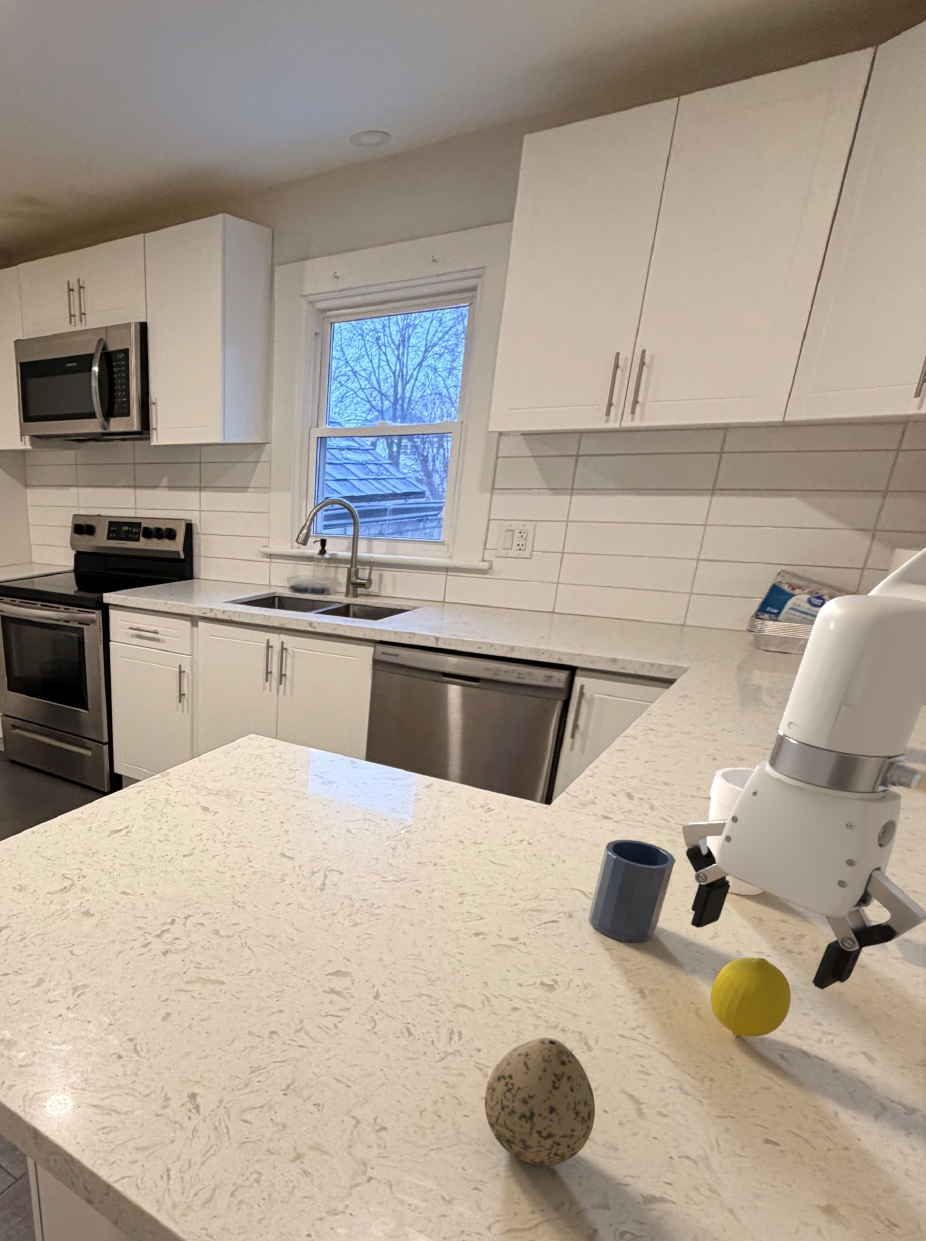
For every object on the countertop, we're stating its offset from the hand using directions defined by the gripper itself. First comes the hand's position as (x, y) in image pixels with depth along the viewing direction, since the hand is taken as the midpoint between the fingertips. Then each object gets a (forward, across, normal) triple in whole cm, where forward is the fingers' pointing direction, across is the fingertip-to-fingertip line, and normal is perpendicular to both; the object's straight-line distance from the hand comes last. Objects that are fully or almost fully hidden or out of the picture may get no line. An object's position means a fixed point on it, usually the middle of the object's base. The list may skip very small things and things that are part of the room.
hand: (761, 951), depth 67 cm
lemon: (+9, 0, 0) cm, 9 cm away
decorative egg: (+9, 0, +26) cm, 28 cm away
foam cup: (+9, +16, -28) cm, 34 cm away
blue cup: (+9, +16, -8) cm, 20 cm away
